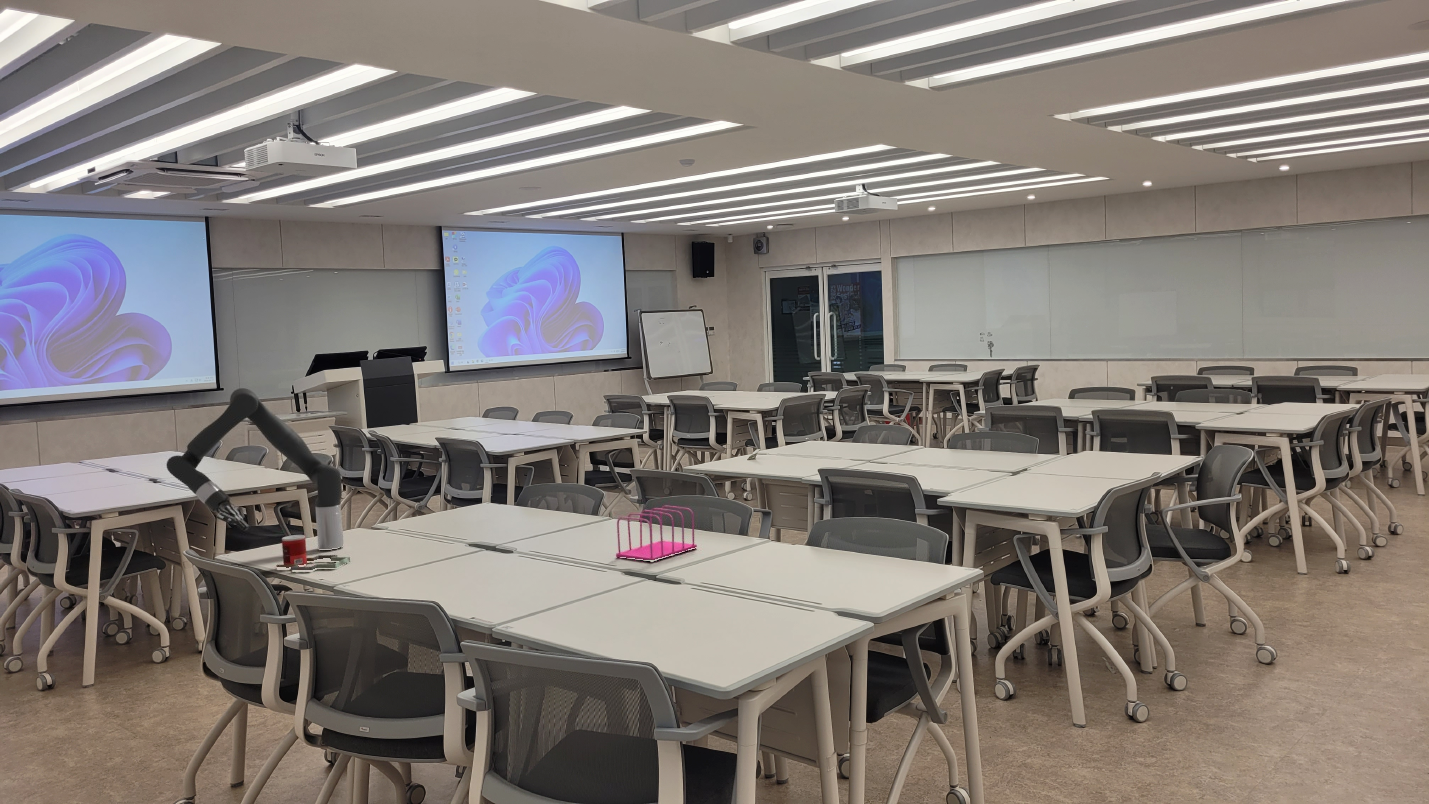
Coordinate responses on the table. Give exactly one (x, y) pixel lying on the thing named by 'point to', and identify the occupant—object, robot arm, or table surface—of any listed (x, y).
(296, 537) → the canned food
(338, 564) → the trap track
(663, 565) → the table surface
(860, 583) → the table surface
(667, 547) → the file sorter
